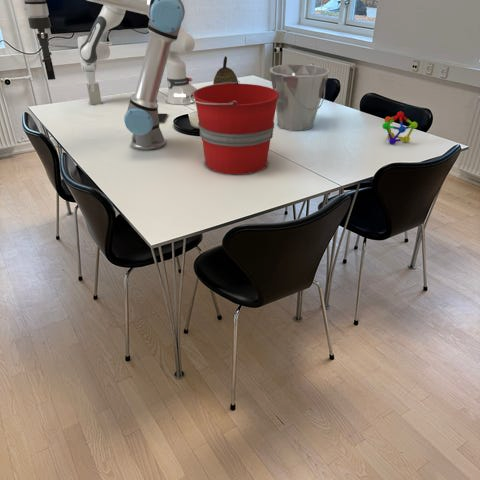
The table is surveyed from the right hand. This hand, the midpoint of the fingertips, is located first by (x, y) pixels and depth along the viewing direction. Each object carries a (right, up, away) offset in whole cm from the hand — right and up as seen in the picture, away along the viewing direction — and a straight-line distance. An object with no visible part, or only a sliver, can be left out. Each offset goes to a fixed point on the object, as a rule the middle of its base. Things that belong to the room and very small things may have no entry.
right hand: (92, 89), depth 263 cm
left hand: (+12, -24, -86) cm, 90 cm away
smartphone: (+44, -23, -22) cm, 54 cm away
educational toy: (+162, -43, -52) cm, 176 cm away
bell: (+79, +1, +18) cm, 81 cm away
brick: (0, -6, +5) cm, 8 cm away
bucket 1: (+85, -56, -74) cm, 126 cm away
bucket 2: (+117, -29, -30) cm, 124 cm away
